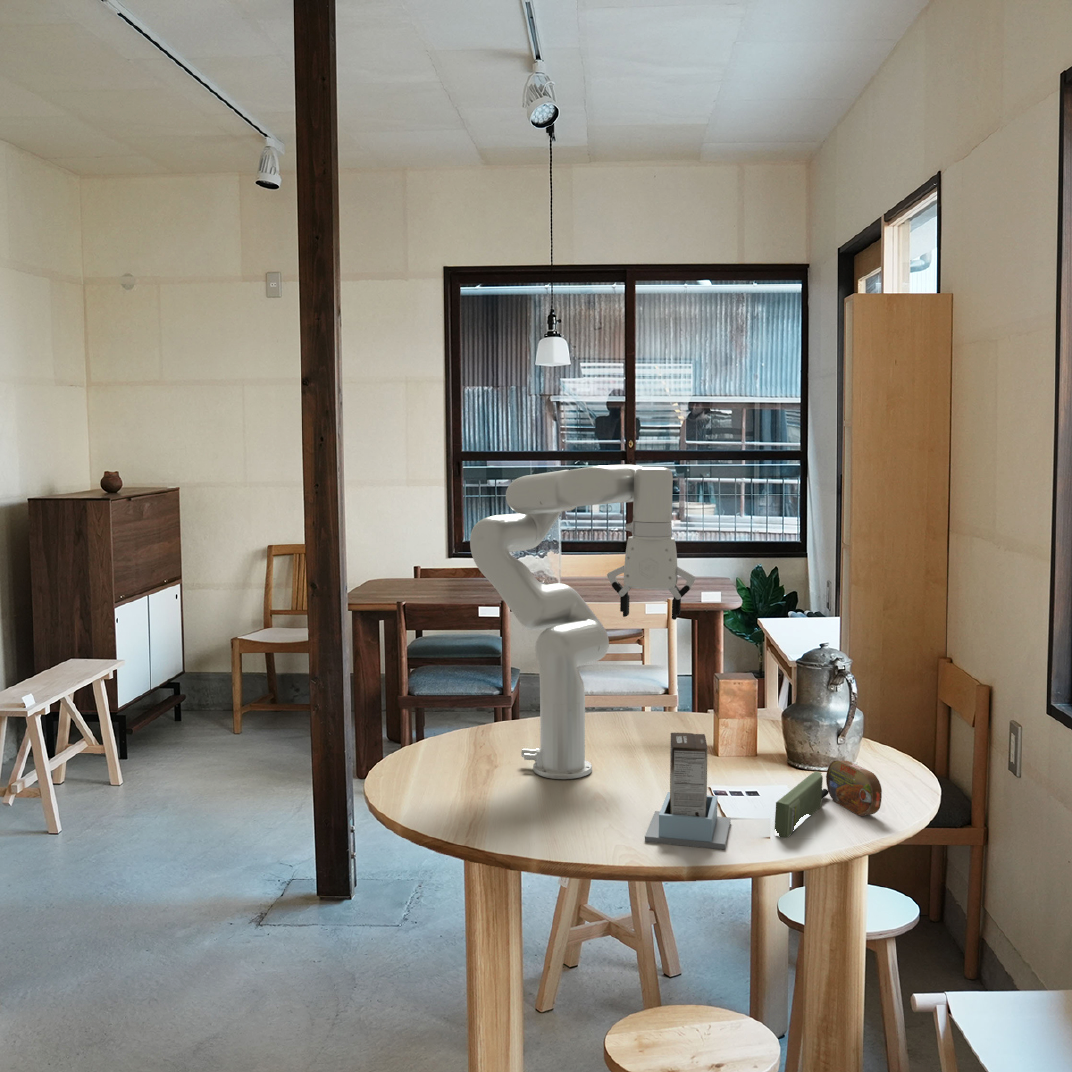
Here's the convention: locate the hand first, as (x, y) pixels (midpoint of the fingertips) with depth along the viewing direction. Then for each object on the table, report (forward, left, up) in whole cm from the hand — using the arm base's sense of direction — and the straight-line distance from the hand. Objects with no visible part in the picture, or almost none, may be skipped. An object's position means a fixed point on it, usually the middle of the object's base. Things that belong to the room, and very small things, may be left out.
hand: (650, 617), depth 205 cm
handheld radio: (+30, -5, -36) cm, 47 cm away
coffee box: (+10, -18, -35) cm, 41 cm away
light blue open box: (+10, -18, -36) cm, 41 cm away
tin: (+39, +2, -36) cm, 54 cm away
